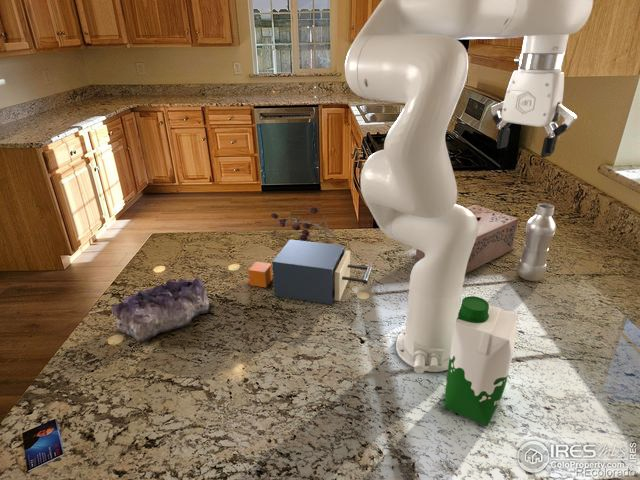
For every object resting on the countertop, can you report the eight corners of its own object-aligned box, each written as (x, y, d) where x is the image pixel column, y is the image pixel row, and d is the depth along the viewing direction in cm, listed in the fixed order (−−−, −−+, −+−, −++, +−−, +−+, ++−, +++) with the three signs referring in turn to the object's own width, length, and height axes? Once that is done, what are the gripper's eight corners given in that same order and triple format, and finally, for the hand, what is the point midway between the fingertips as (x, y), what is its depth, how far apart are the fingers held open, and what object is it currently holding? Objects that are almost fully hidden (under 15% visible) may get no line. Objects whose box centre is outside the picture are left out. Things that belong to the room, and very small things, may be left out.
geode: (196, 293, 106) (194, 259, 101) (218, 319, 99) (218, 284, 94) (110, 323, 94) (103, 286, 89) (128, 355, 86) (122, 317, 81)
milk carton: (452, 377, 79) (467, 286, 70) (503, 397, 74) (526, 302, 66) (437, 410, 72) (451, 312, 63) (492, 433, 68) (516, 332, 59)
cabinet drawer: (373, 280, 109) (374, 253, 105) (364, 305, 99) (366, 276, 95) (300, 270, 114) (299, 244, 110) (285, 293, 104) (284, 265, 100)
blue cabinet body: (343, 278, 112) (344, 245, 107) (331, 304, 101) (332, 269, 96) (291, 271, 115) (290, 239, 111) (274, 295, 104) (272, 261, 100)
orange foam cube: (266, 287, 108) (264, 272, 106) (249, 285, 109) (248, 269, 107) (272, 278, 112) (271, 263, 110) (256, 276, 113) (255, 261, 111)
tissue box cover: (457, 277, 111) (462, 243, 107) (415, 257, 122) (418, 225, 117) (511, 249, 125) (518, 218, 121) (470, 233, 136) (474, 204, 131)
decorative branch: (267, 202, 144) (339, 202, 126) (281, 219, 150) (352, 221, 132) (251, 228, 139) (325, 232, 121) (266, 244, 145) (338, 251, 127)
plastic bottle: (546, 285, 107) (565, 212, 99) (518, 282, 109) (534, 210, 100) (540, 272, 113) (557, 202, 104) (513, 270, 114) (528, 200, 106)
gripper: (489, 62, 86) (476, 147, 93) (579, 66, 74) (556, 163, 81) (509, 61, 90) (495, 142, 97) (597, 64, 78) (573, 157, 85)
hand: (522, 151), depth 89 cm, fingers open, 9 cm apart
